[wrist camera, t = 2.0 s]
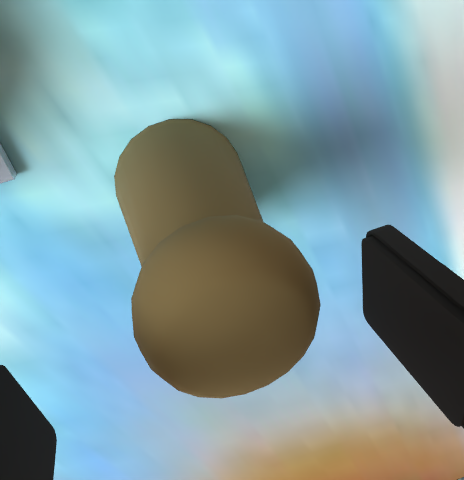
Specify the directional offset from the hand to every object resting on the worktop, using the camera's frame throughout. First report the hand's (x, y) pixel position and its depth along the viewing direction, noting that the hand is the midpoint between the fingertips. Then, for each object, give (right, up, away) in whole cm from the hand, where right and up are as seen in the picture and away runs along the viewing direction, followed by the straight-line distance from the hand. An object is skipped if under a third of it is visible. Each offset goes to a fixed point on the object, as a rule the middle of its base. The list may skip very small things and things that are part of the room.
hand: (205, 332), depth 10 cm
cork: (-2, +5, +9) cm, 10 cm away
